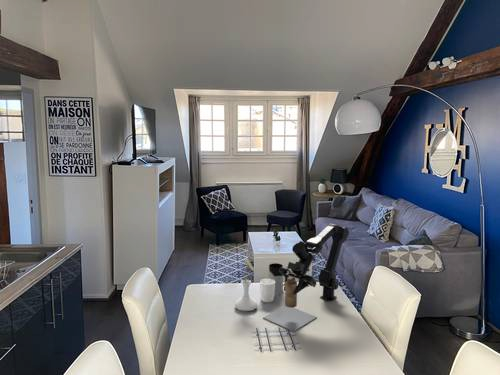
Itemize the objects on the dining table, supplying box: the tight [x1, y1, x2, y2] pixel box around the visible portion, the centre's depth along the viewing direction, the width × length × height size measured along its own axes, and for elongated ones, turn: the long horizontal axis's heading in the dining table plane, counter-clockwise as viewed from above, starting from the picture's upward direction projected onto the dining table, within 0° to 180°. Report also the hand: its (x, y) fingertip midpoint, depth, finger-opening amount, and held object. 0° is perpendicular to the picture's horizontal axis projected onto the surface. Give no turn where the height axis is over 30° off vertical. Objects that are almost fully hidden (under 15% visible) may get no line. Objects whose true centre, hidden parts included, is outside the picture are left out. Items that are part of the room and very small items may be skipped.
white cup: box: [259, 278, 275, 303], centre depth 200 cm, size 8×8×10 cm
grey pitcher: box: [268, 262, 293, 296], centre depth 210 cm, size 9×14×15 cm, turn 107°
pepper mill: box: [284, 277, 298, 308], centre depth 179 cm, size 5×5×13 cm
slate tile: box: [262, 305, 318, 333], centre depth 181 cm, size 18×18×1 cm
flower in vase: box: [234, 257, 258, 312], centre depth 190 cm, size 13×11×25 cm
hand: (289, 292), depth 178 cm, fingers closed on pepper mill, 5 cm apart
